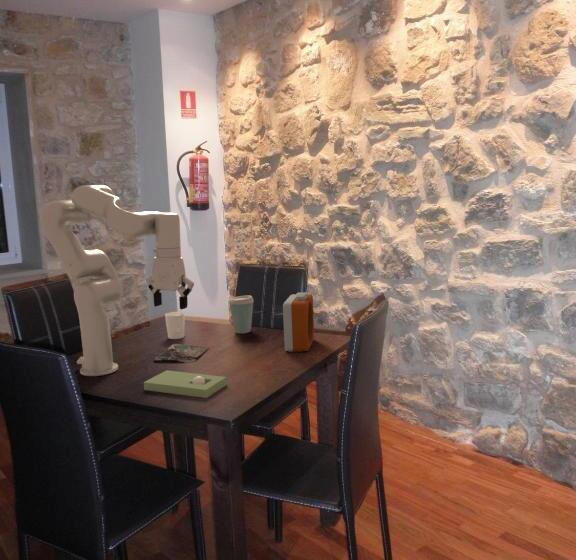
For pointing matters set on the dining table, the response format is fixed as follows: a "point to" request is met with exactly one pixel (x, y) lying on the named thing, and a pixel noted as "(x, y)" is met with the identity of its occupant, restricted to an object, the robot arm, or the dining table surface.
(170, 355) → the terrain model
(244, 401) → the dining table surface
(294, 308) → the orange and grey box
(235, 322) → the disposable coffee cup
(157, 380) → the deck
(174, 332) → the white cup
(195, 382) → the ball
